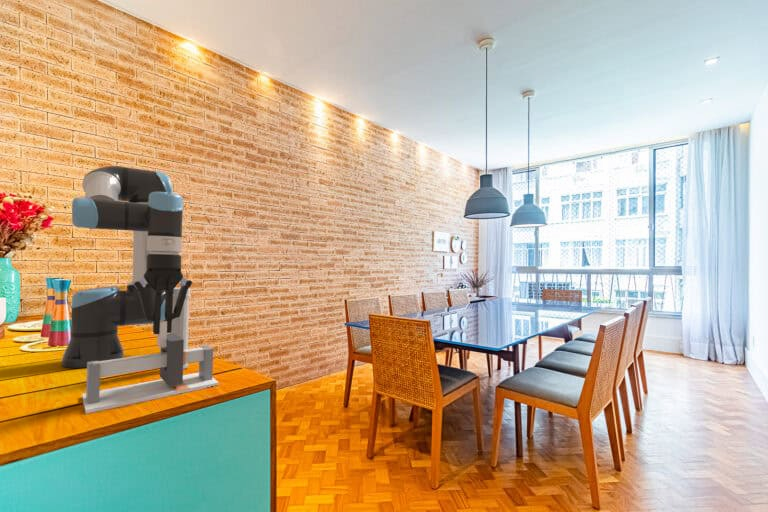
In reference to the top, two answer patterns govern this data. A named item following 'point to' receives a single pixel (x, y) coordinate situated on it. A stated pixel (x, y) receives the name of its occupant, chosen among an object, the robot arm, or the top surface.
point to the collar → (173, 360)
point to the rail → (147, 390)
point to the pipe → (181, 319)
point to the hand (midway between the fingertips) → (161, 346)
